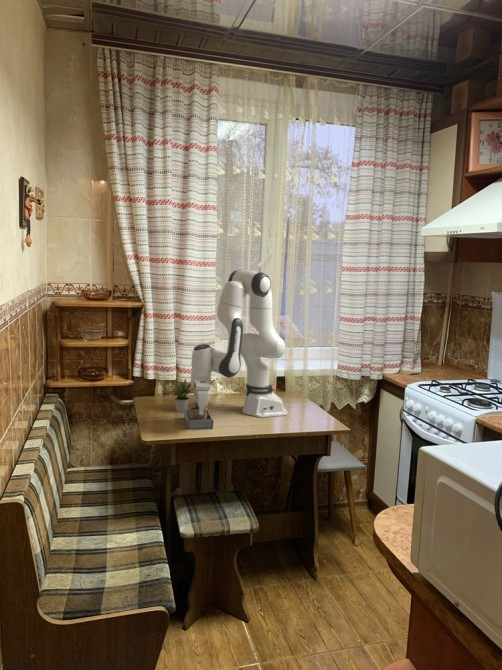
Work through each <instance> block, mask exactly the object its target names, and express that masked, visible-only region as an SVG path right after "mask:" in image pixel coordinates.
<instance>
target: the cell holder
mask: <svg viewBox="0 0 502 670" xmlns="http://www.w3.org/2000/svg"><path fill="white" fill-rule="evenodd" d="M189 409H190V408H188V409H184V412H183V413H184V415H183V417H184V422H185V425H186V429H187V430H189V431H191V430H213V429H214V419H213V417H212V414H211V412H210V410H209V408H207V418H206V420H189V419H190V411H189Z"/></svg>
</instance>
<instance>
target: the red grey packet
mask: <svg viewBox="0 0 502 670" xmlns="http://www.w3.org/2000/svg"><path fill="white" fill-rule="evenodd" d="M188 409H189V411H190V419H189V420H206V418H207V409H208V408H207V407H204V411H203V415H199V406H198V404H197V403H196V402H195V403H192V405H191V407H190V408H188Z"/></svg>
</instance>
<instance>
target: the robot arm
mask: <svg viewBox="0 0 502 670" xmlns="http://www.w3.org/2000/svg"><path fill="white" fill-rule="evenodd" d="M271 287H272V281H271V278H270V276H269V275H268V274H267V273H264V272H262V271H256V270H244V269H243V270H242V269H237V270H234V271H232V272H231V273H230V275H229V277H228V279H227V282H226V283H225V284H224V287H223V289H222V292H221V295H220V296H219V297H220V298H219V302H218V304H217V305H218V306H217V310H216V312H217V313H216V315H217V319H218V320H219V322H220V324H222V325H223V326H224V327H225V329H226V330H227V333H228V338H227V339H228V340H227V346H226V347H227V349H226V352H224V351H221V350H218V349H215V348H213V347H212V346H211V345H210V344H207V343H206V344H203V343H202V344H198V345H196V346H194V348H193V350H192V353H191V372H190V383H191V387H192V389H193V392H194V393H193V396H194V398H195V404H196V403H197V404H198V406H199V415H203V411H204V407H205V408H207V407H208V404H209V396H210V395H209V394H210V390H211V385H212V384H211V383H212V380H211V379H212V373H213V372H214V373H217V374H219V375H220V374H221V375H222V376H224V377H225V378H227V379H229V378H234V377H235V376H236V375H237V374H238V373H239V372H240V370H241V364H242V362H241V357H242V359H243V360H244V363H245V365H246V366H245V367H246V384H245V392H244V393H245V398H244V404H243V406H242V411H241V412H242V413H244V414H245V415H249V416H253V417H257V418H261V419H262V418H271V417H283V416H287V415H288V410H287V409H286V407H284V403H283V399H281V398H280V397H279V396H278V395H277V394H276V393H274V392H275V391H276V387H275V386H273V385H272V384H270V375H271V370H270V368H269V366H268V365H266V364H265V363H264V361H262V358H265V359H280V358H282V357H283V356H284V354H285V352H286V342H285V341H284V339H283V338H281V337H280V335H279V334H278V332H277V331H276V329H275V326H274V321H273V320H274V319H273V317H274V316H273V306H274V305H273V304H274V303H273V295H272V294H273V293H272V288H271ZM247 295H249V296H250V298H249V314H248V315H249V323H250V325H251V326H252V327H254V328H255V329H256V330H257V332H258V333H252V332H246V333H244V324H243V321H242V320H243V319H242V316H243V308H244V303H245V299H246V296H247Z"/></svg>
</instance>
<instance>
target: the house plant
mask: <svg viewBox="0 0 502 670" xmlns="http://www.w3.org/2000/svg"><path fill="white" fill-rule="evenodd" d="M172 381H173V383H171V385H172V386H173V387H174V388H175V389H176V390H172V391H170V393H175V394H176V396H175V398H174V401H175V409H176V412H178V413H184V409H189V404H190V397H188V394H192V393H193V394H194V391H192V390H191V389H193V387H192V385H191V382H190V383H189V384H187V378H186V377H185V379H184V380H182V379H181V378H180V384H181V385H180V384H179V385H178V382H176V381H175V380H174V379H172ZM174 384H175V385H174Z"/></svg>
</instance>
